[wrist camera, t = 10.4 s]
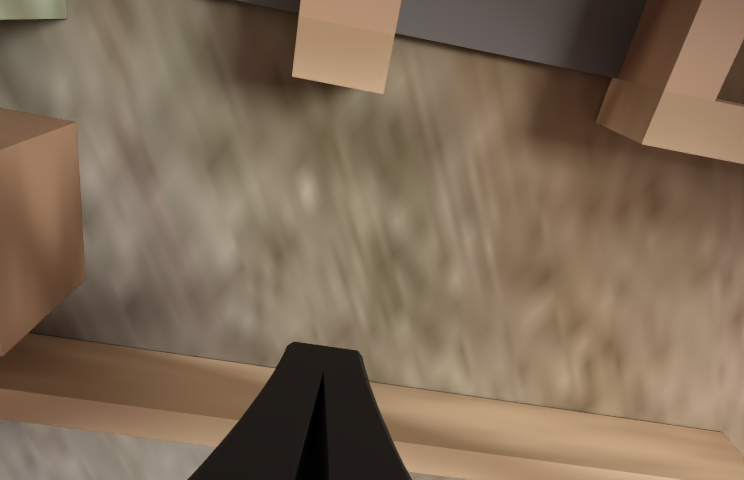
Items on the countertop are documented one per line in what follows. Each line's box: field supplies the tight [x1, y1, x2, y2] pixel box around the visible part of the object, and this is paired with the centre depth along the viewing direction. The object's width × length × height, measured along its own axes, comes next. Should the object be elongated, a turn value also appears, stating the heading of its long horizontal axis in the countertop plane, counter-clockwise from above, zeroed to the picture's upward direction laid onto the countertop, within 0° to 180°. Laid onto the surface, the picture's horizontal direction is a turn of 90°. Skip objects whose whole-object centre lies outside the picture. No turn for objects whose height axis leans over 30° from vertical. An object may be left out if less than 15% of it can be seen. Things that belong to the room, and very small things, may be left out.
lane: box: [0, 0, 744, 480], centre depth 12 cm, size 18×31×4 cm, turn 79°
